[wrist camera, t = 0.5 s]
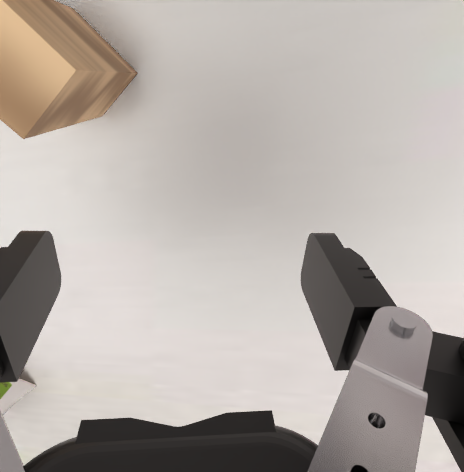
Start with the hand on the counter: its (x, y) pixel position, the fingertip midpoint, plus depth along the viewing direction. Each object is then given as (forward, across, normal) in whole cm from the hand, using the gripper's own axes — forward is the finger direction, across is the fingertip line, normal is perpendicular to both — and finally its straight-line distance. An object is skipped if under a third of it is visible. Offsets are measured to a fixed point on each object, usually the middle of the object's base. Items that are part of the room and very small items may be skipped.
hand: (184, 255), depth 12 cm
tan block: (+22, +10, -5) cm, 25 cm away
